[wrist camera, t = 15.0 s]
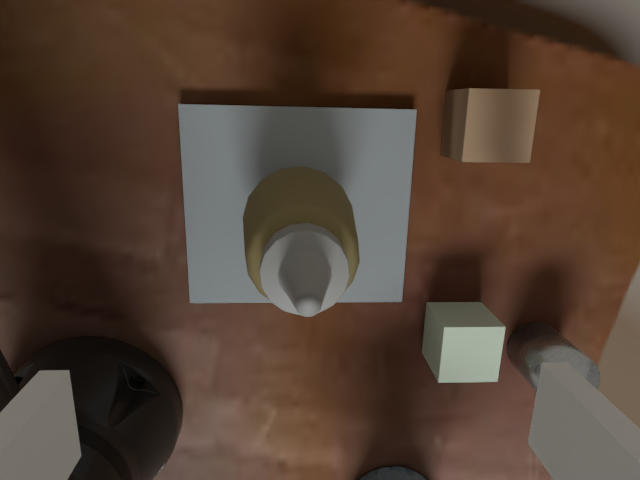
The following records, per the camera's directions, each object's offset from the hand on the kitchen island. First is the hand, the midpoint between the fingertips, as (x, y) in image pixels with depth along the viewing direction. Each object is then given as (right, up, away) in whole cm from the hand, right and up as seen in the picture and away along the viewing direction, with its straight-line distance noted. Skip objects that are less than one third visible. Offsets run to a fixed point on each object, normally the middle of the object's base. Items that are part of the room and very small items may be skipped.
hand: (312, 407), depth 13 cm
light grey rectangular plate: (-2, +7, +25) cm, 26 cm away
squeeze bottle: (-2, +7, +24) cm, 26 cm away
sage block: (+12, -3, +29) cm, 32 cm away
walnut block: (+13, +14, +24) cm, 31 cm away
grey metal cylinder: (+20, -5, +30) cm, 37 cm away
